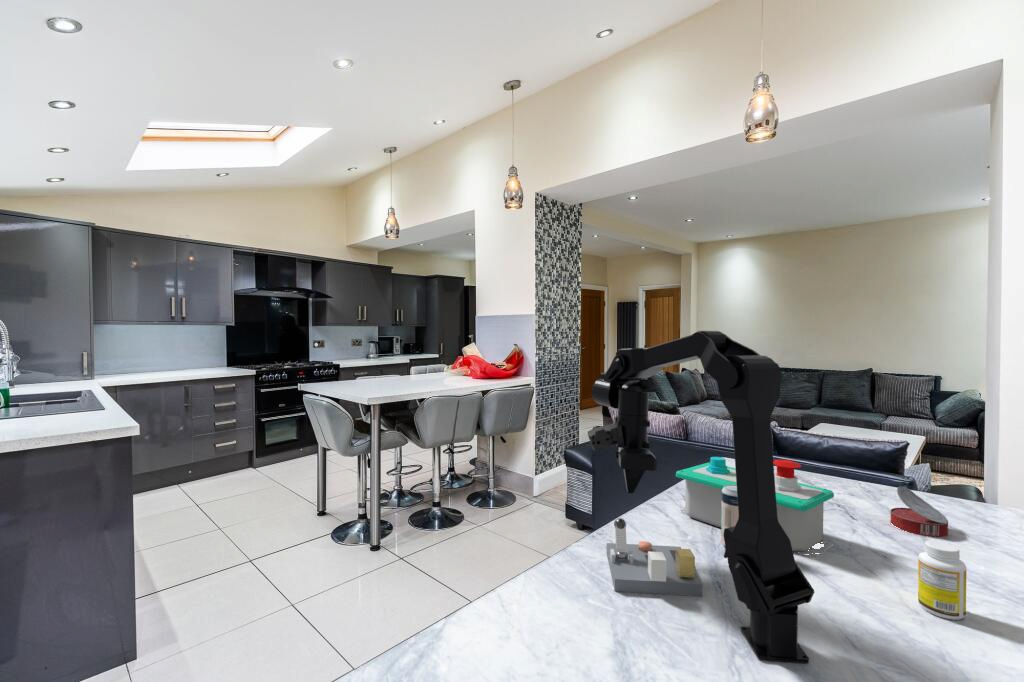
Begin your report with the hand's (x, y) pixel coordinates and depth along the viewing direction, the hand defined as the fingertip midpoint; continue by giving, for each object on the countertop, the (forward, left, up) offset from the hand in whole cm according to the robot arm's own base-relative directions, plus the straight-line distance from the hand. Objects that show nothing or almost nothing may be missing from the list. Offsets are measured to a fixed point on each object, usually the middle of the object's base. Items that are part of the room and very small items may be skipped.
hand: (630, 492), depth 93 cm
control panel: (+17, -29, -12) cm, 35 cm away
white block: (-13, -3, -10) cm, 17 cm away
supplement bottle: (-14, -46, -12) cm, 49 cm away
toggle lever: (-7, +2, -9) cm, 12 cm away
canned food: (+21, -67, -12) cm, 71 cm away
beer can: (+6, -22, -12) cm, 25 cm away
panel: (-7, -3, -12) cm, 14 cm away
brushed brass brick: (-12, -8, -10) cm, 17 cm away
